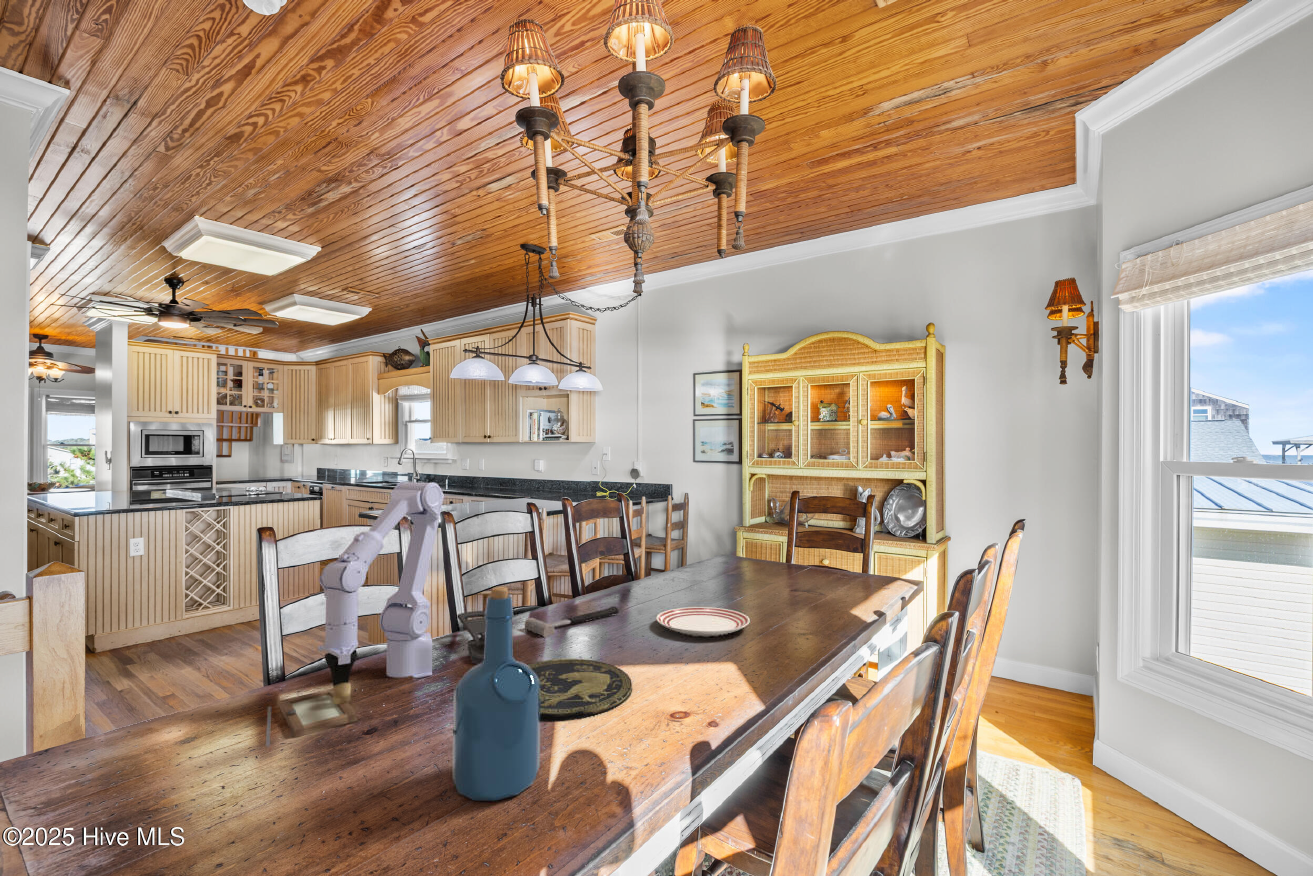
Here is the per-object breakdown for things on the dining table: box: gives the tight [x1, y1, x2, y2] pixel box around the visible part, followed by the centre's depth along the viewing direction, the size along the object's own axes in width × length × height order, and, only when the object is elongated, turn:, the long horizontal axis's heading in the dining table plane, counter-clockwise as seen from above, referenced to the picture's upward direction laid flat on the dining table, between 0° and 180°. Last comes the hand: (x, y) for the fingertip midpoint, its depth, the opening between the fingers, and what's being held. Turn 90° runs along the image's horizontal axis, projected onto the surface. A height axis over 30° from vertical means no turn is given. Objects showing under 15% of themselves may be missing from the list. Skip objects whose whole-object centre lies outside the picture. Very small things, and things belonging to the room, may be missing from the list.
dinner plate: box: [655, 606, 751, 638], centre depth 172 cm, size 27×27×3 cm
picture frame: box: [278, 682, 358, 738], centre depth 112 cm, size 11×16×4 cm
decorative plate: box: [525, 658, 633, 722], centre depth 127 cm, size 30×2×30 cm
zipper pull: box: [457, 610, 486, 665], centre depth 152 cm, size 9×7×25 cm
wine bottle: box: [451, 586, 541, 802], centre depth 92 cm, size 14×13×30 cm
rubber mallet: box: [524, 605, 620, 638], centre depth 175 cm, size 10×4×30 cm
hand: (340, 689), depth 118 cm, fingers closed
